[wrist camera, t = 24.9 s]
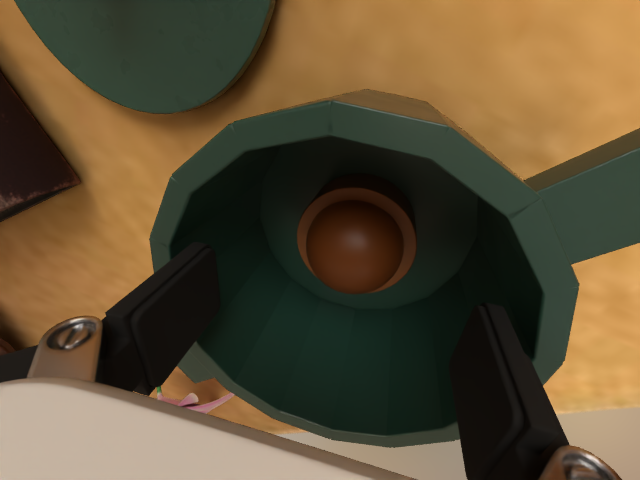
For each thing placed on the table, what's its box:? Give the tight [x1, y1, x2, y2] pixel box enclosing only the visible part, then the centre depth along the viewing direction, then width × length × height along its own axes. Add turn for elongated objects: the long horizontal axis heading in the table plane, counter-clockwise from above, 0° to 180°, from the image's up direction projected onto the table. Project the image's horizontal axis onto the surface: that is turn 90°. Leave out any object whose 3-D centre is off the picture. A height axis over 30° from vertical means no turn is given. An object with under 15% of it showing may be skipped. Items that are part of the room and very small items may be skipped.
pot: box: [149, 89, 640, 448], centre depth 14 cm, size 14×19×8 cm
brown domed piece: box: [297, 173, 417, 294], centre depth 15 cm, size 6×6×5 cm
